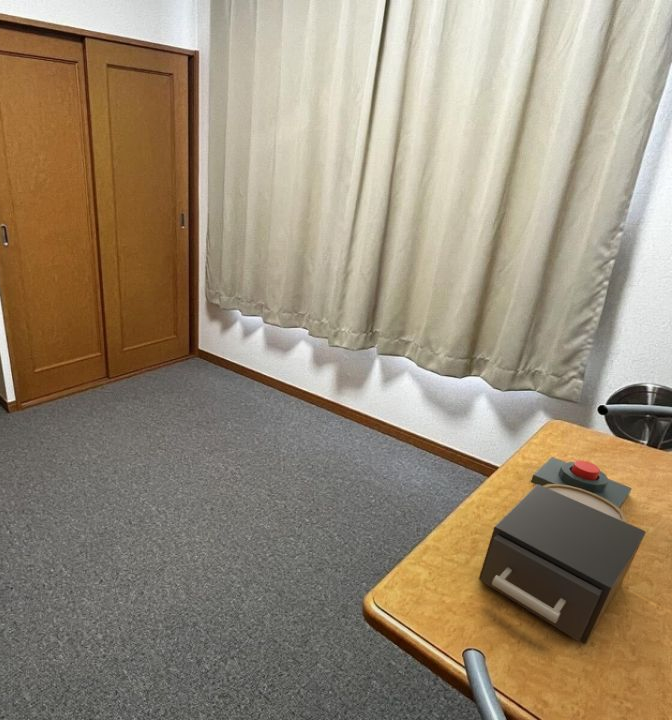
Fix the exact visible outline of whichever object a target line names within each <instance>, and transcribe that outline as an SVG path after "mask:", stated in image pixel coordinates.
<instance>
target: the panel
mask: <svg viewBox="0 0 672 720" xmlns="http://www.w3.org/2000/svg"><path fill="white" fill-rule="evenodd" d="M574 462H575V461H565V460H564V461H563V460H561V459H558V458H557V457H553V456H551V457H550V458H549V459H548V460H547V461H546V462H545V463H544V464H543V465H541V466H540V468H538V469H537V470H536V471H535V472H534V473H533V474H532V478H531V480H530V482H531V483H533V484H535V485H537V484H539V485H541V486H544V485H547V484H562V485H569V486H573V487H576V488H580V489H583V490H586V491H589V492H591V493H594V494H596V495H598V496H600V497H602V498H604V499H606V500H608V501H609V502H611V503H613V504H614V505H616V506H617V507H618V508H619V509H621V507H622V506H623V504H624V503H625V502H626V500H627V499H628V497H629V496H630V493H631V491H632V490H633V488H632V487H630V486H627V485H625V484H622V483H620V482H617V481H615V480H612V479H609V478H608V476H607V474H605V472H603V471H601V470H600V472H599V474H598V477H597V479H596V480H593V481H592V480H586V479H583V478H580V477H578V476H576V475H575V474H573V473H572V471H571V470H572V467H573V464H574Z"/></svg>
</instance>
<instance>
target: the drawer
mask: <svg viewBox="0 0 672 720" xmlns="http://www.w3.org/2000/svg"><path fill="white" fill-rule="evenodd" d="M480 582H482V583H484V584H485V585H486V586H487V587H488V586H489V587H490V588H491V589H493V590H494V591H496V592H497V593H500V594H501V595H503V596H505V597H506V598H508V599H510V600H511V601H513V602H514V603H516V604H517V605H519V606H521V607H523V609H526V610H527V611H529V612H531V613H532V614H534V615H535V616H536V617H538V618H540V619H542V620H543V621H545V622H547V623H548V624H550V625H551V626H553V627H555V628H556V629H558V630H559V631H561V632H563V633H565V634H566V635H568V636H569V637H571V638H572V639H574V640H576V641H577V642H580V641H579V640H580V638H581V637H582V635H583V633H584V630H585V628H586V626H587V624H588V622H589V619H590V617H591V615H592V613H593V610H594V608H595V606H596V604H597V601H598V599H599V597H600V595H601V592H602V590H600V589H601V588H599V587H597V586H596V585H594V584H592V583H590V582H588V581H586V580H584V579H582V578H581V577H579V576H577V575H575V574H573V573H571V572H569V571H567V570H566V569H564V568H562V567H560V566H558V565H556V564H554V563H552V562H551V561H549V560H547V559H545V558H543V557H541V556H539V555H538V554H536V553H534V552H532V551H530V550H528V549H526V548H524V547H523V546H521V545H519V544H517V543H515V542H513V541H511V540H509V539H508V538H506V539H505V538H503V537H502V536H500V535H497V536H496V537H495V538H494V539H493V542H492V546H491V549H490V552H489V556H488V559H487V562H486V565H485V569H484V572H483V575H482V579H480Z"/></svg>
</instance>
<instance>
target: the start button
mask: <svg viewBox="0 0 672 720" xmlns="http://www.w3.org/2000/svg"><path fill="white" fill-rule="evenodd" d="M573 462H574V464H573V467H572V470H571V471H572V473H573V474H575V475H576V476H578V477H580V478H583V479H586V480H592V481H593V480H596V479H597V477H598V474H599V472H600V471H601V469H600V467H599V466H598V465H596V464H594V463H593V462H590V461H586V460H575V461H573Z"/></svg>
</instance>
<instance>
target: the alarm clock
mask: <svg viewBox="0 0 672 720" xmlns="http://www.w3.org/2000/svg"><path fill="white" fill-rule="evenodd" d="M544 487H546V488H548V489H550V490H553V491H555V492H557V493H560V494H562V495H564V496H566V497H569V498H571V499H573V500H576V501H578V502H580V503H582V504H585V505H587V506H589V507H591V508H594V509H596V510H598V511H601V512H603V513H605V514H607V515H610V516H612V517H614V518H617V519H619V520H621V521H623V522H626V523H627V521H628V519H627V516H626V515H625V512H624V511H622V509H621V508H618V507H617V506H616V505H614V504H613V503H611V502H609V501H608V500H606V499H604V498H602V497H600V496H598V495H596V494H594V493H591V492H589V491H586V490H583V489H580V488H576V487H573V486H569V485H562V484H547V485H544Z"/></svg>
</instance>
